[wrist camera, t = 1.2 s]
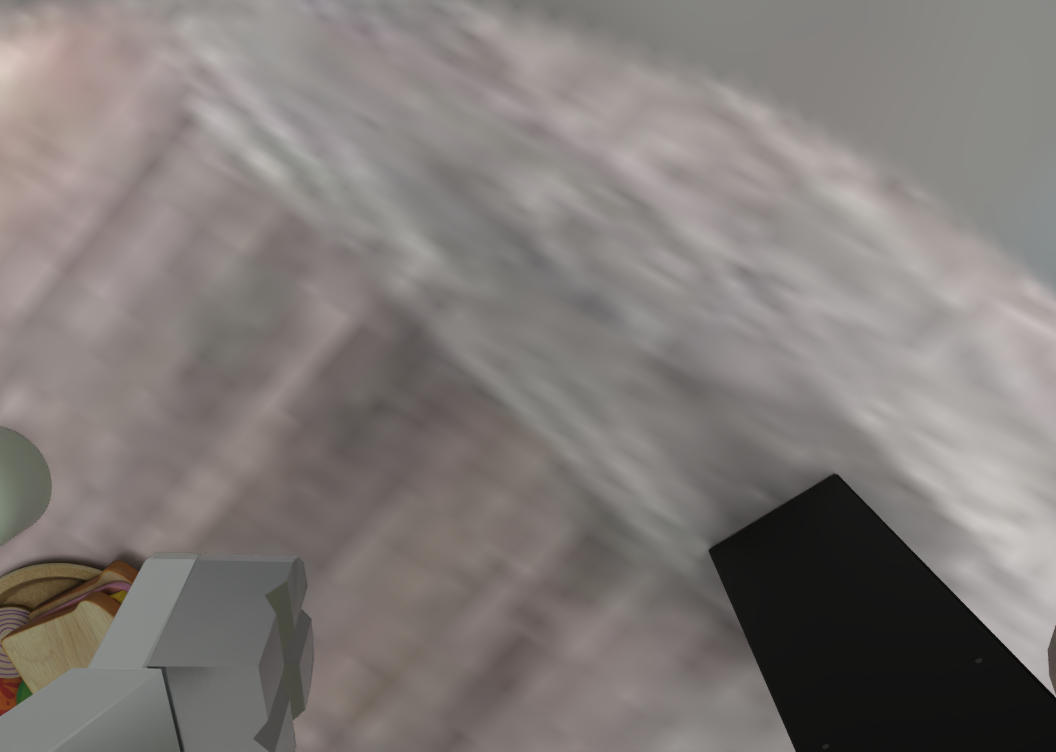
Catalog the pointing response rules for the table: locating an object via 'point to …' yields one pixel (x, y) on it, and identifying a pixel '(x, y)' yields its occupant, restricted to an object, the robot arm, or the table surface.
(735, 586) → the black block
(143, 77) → the table surface
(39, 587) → the toy sandwich meal
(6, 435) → the sage green rounded piece
